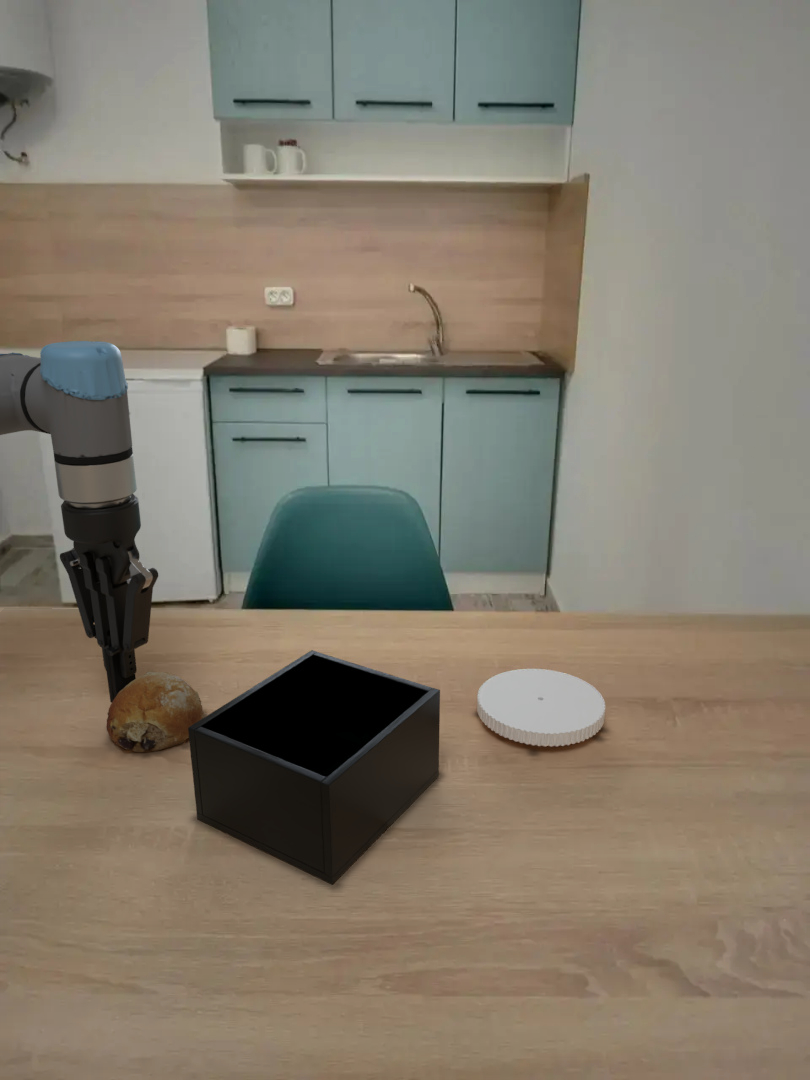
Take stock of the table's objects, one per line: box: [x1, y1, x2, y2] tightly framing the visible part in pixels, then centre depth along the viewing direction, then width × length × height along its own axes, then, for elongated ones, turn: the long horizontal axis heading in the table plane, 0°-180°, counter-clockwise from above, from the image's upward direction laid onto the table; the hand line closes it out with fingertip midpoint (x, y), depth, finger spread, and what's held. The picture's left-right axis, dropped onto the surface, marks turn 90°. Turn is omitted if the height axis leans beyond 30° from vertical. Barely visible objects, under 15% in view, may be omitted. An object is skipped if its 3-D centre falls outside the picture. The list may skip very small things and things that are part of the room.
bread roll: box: [106, 670, 204, 753], centre depth 90 cm, size 10×10×8 cm
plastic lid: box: [476, 667, 606, 748], centre depth 92 cm, size 14×14×2 cm
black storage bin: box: [188, 649, 441, 885], centre depth 78 cm, size 16×18×10 cm
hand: (124, 698), depth 93 cm, fingers closed
